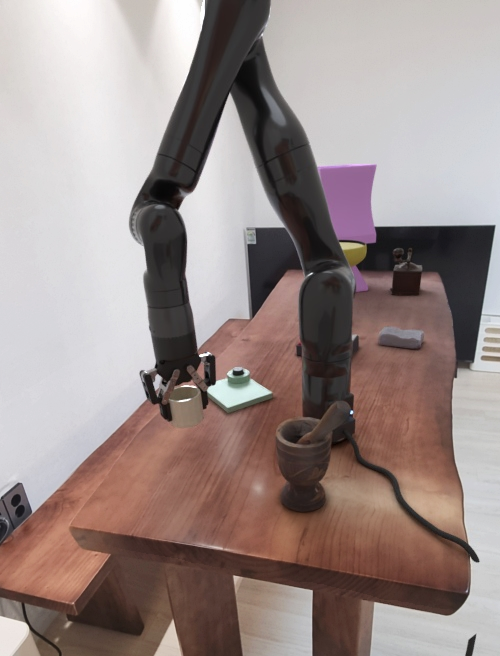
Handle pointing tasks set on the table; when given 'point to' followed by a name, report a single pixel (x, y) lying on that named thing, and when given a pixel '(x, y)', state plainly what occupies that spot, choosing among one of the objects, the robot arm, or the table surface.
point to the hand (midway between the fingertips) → (185, 413)
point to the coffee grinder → (405, 275)
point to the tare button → (238, 371)
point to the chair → (350, 205)
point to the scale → (237, 392)
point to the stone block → (401, 337)
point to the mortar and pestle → (307, 456)
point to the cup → (186, 407)
